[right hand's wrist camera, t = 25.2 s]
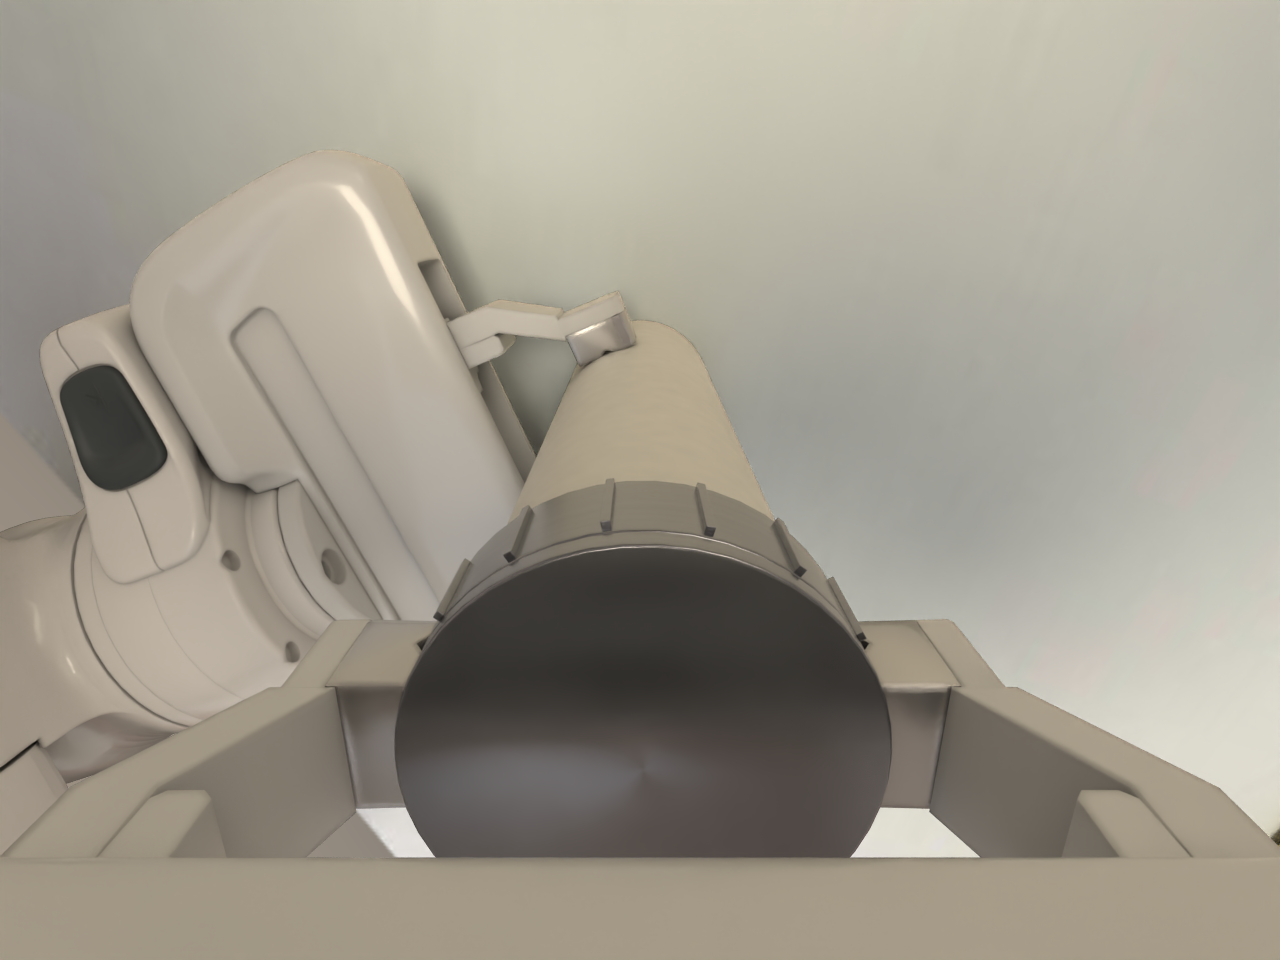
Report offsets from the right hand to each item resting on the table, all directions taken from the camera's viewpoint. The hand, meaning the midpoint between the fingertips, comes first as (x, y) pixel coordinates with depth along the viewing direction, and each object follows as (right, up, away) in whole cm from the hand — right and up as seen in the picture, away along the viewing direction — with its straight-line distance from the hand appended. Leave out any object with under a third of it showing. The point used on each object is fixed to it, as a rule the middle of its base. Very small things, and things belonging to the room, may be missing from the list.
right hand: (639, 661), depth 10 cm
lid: (0, -1, -2) cm, 2 cm away
